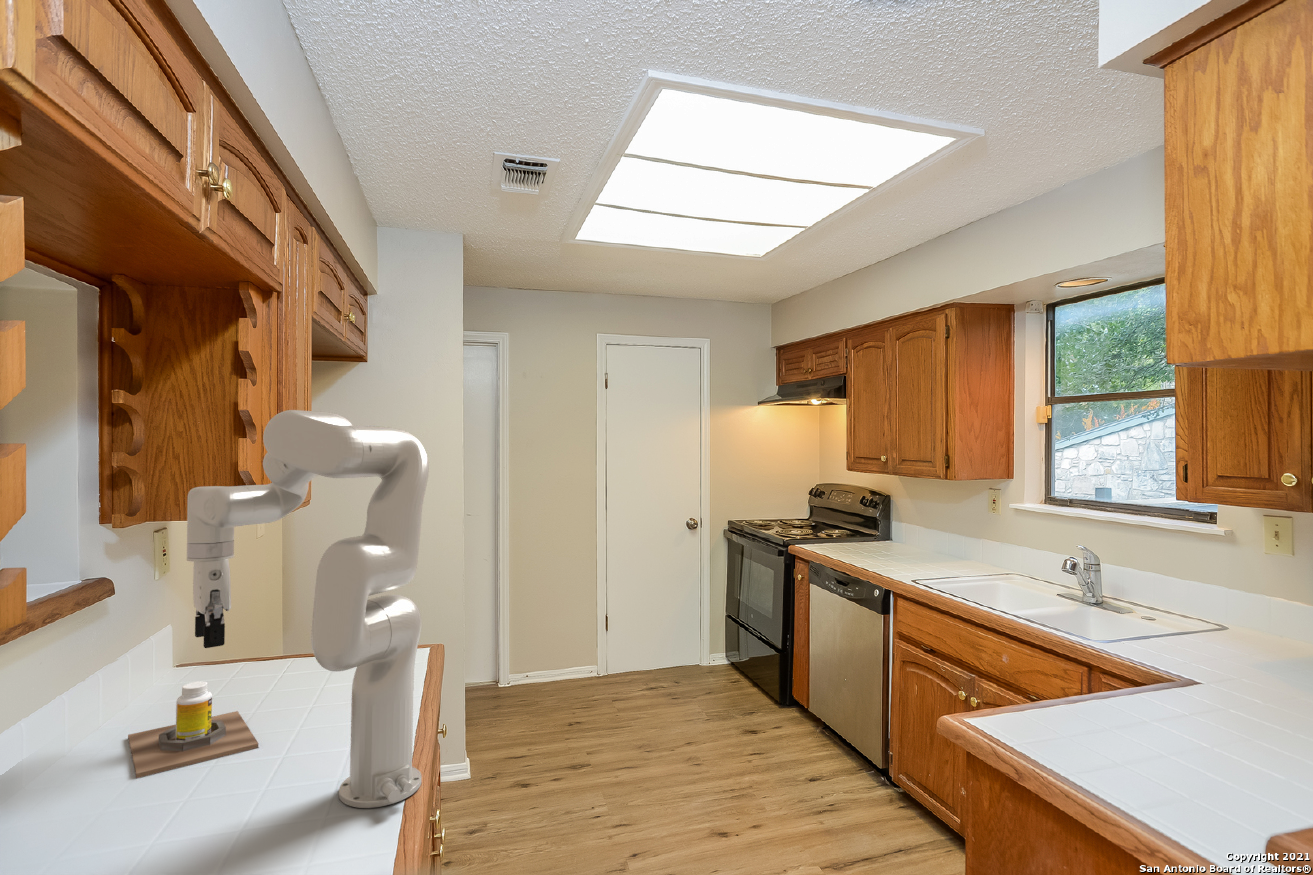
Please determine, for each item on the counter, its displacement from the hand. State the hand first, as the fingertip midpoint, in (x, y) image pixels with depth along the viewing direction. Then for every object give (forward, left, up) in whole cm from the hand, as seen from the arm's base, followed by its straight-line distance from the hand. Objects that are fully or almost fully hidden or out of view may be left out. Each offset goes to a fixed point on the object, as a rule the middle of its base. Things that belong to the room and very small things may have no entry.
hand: (209, 640), depth 127 cm
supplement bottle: (+1, +2, -19) cm, 19 cm away
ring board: (+1, +2, -19) cm, 19 cm away
